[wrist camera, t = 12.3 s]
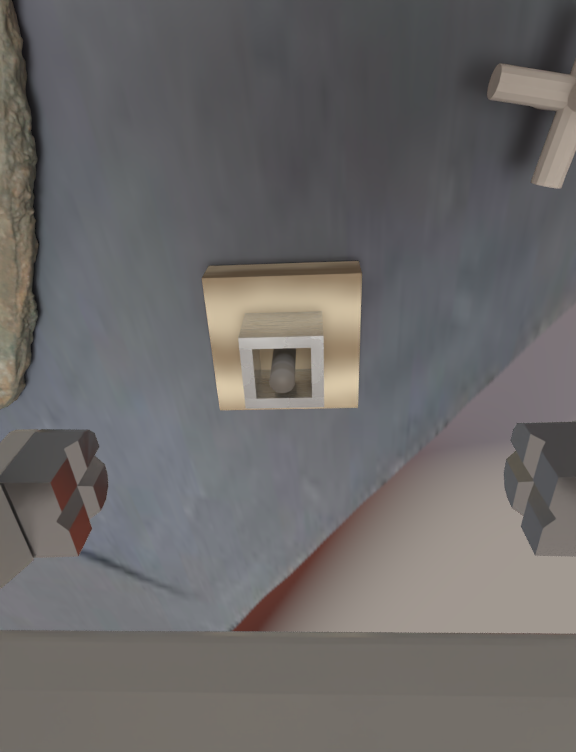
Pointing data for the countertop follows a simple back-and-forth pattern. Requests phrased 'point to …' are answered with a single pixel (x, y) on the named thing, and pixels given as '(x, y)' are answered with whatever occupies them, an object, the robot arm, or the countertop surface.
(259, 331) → the silver square ring
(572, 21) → the countertop surface
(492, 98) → the pipe connector
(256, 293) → the shaft stand
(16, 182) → the long grey stone
